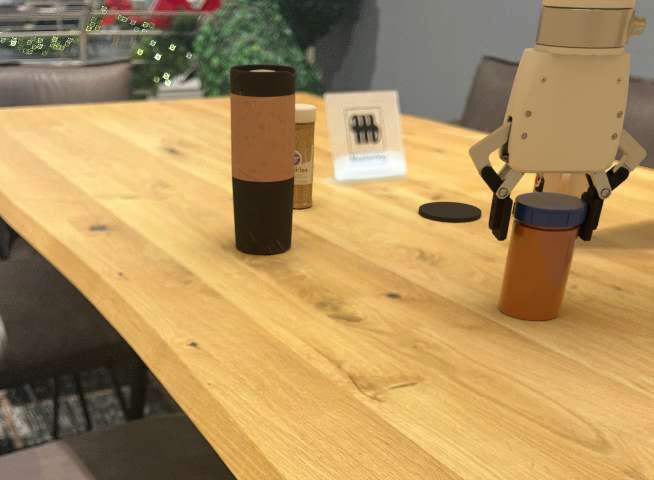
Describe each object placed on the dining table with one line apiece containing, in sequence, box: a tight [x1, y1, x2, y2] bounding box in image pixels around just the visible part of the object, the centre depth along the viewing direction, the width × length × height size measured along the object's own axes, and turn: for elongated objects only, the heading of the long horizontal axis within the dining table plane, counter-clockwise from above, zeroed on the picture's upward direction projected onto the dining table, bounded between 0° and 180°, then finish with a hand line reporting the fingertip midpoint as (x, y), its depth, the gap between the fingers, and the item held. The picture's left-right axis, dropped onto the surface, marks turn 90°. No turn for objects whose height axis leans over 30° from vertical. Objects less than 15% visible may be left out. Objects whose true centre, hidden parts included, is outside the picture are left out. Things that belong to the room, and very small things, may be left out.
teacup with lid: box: [532, 173, 588, 199], centre depth 110 cm, size 12×9×12 cm
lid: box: [511, 191, 587, 227], centre depth 75 cm, size 7×7×2 cm
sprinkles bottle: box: [293, 103, 317, 209], centre depth 110 cm, size 5×5×13 cm
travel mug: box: [229, 63, 297, 256], centre depth 92 cm, size 8×8×20 cm
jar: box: [497, 217, 580, 322], centre depth 78 cm, size 6×6×10 cm
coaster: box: [418, 201, 483, 223], centre depth 111 cm, size 9×9×1 cm
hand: (540, 236), depth 76 cm, fingers open, 7 cm apart
